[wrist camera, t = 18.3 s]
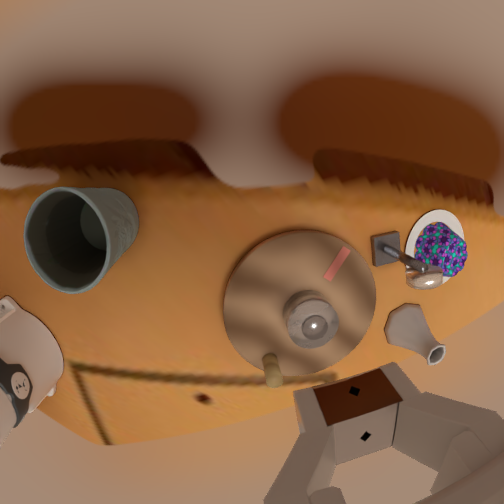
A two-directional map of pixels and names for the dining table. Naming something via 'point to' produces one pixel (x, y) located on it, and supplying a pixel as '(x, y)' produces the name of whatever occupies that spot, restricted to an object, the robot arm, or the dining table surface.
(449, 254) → the pudding
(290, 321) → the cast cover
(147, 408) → the dining table surface
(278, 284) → the turntable
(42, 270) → the grey green cup
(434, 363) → the flask
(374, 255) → the grey knobbed rod
